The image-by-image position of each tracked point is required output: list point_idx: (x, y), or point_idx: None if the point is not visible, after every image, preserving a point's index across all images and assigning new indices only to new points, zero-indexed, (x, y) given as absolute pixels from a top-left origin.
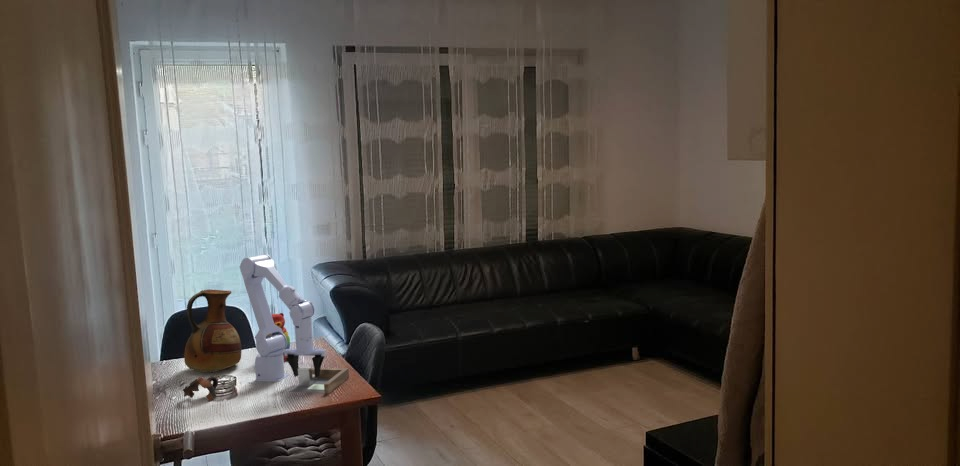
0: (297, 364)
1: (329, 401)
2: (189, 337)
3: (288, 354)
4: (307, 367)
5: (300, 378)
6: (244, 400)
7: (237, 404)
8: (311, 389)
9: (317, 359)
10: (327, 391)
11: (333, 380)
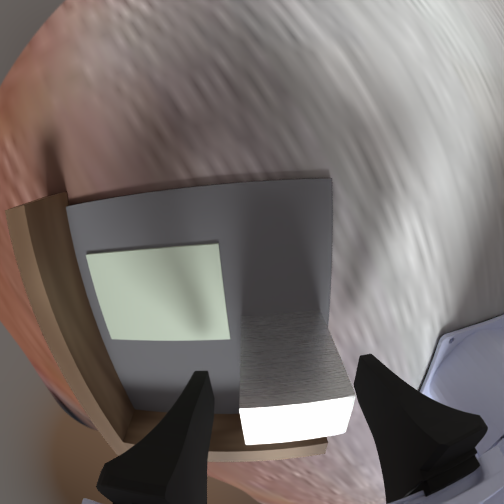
0: (379, 438)
1: (12, 109)
2: None
3: (472, 471)
4: (270, 426)
5: (316, 339)
6: (482, 59)
7: (473, 15)
8: (183, 246)
9: (105, 475)
10: (40, 198)
11: (29, 296)
